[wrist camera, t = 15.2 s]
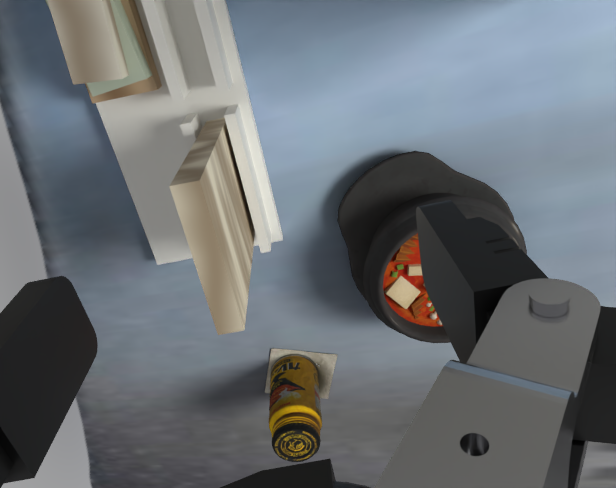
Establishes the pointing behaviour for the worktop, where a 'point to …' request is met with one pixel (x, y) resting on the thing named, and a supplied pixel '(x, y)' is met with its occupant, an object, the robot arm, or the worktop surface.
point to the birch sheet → (217, 224)
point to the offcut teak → (154, 80)
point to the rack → (187, 120)
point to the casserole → (408, 234)
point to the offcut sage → (131, 53)
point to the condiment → (297, 400)
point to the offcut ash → (89, 40)
